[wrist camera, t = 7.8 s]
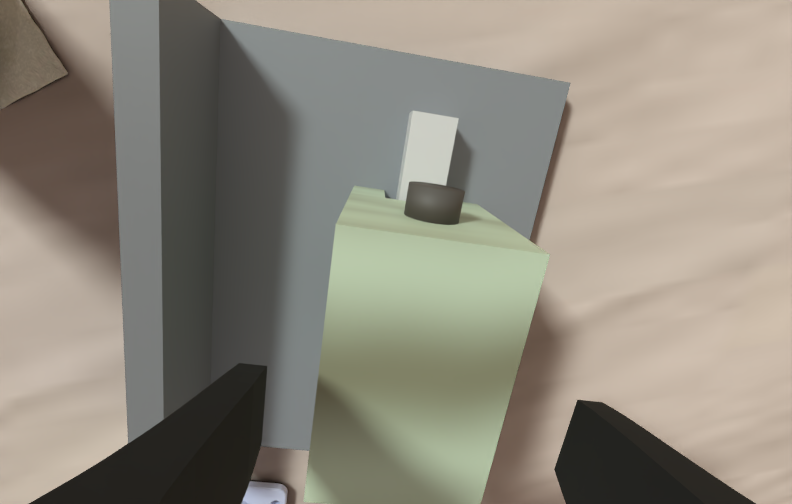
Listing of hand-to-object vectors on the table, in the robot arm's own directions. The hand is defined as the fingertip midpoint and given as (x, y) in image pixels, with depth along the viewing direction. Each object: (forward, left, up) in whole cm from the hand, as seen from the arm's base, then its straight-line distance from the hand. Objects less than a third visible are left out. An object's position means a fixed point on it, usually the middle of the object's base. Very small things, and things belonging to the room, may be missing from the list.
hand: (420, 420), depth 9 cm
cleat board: (0, +2, -9) cm, 9 cm away
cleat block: (0, 0, -8) cm, 8 cm away
